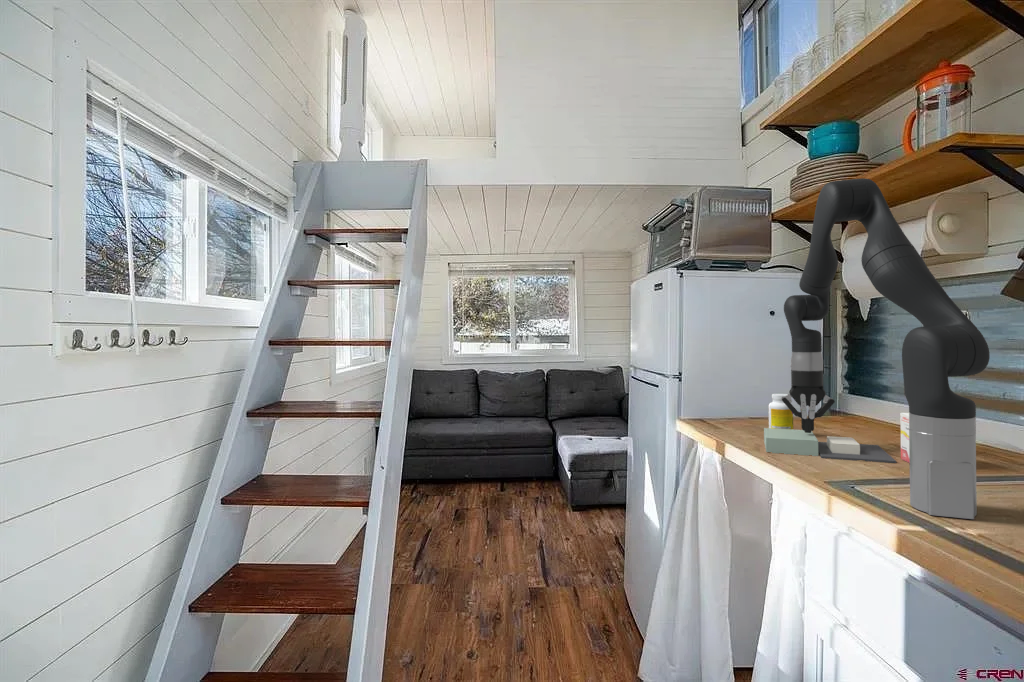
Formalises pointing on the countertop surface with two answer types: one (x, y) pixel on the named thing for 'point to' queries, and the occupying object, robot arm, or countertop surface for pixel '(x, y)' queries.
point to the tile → (843, 445)
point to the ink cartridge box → (904, 436)
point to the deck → (790, 441)
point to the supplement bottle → (780, 413)
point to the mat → (866, 453)
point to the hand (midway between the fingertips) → (807, 432)
